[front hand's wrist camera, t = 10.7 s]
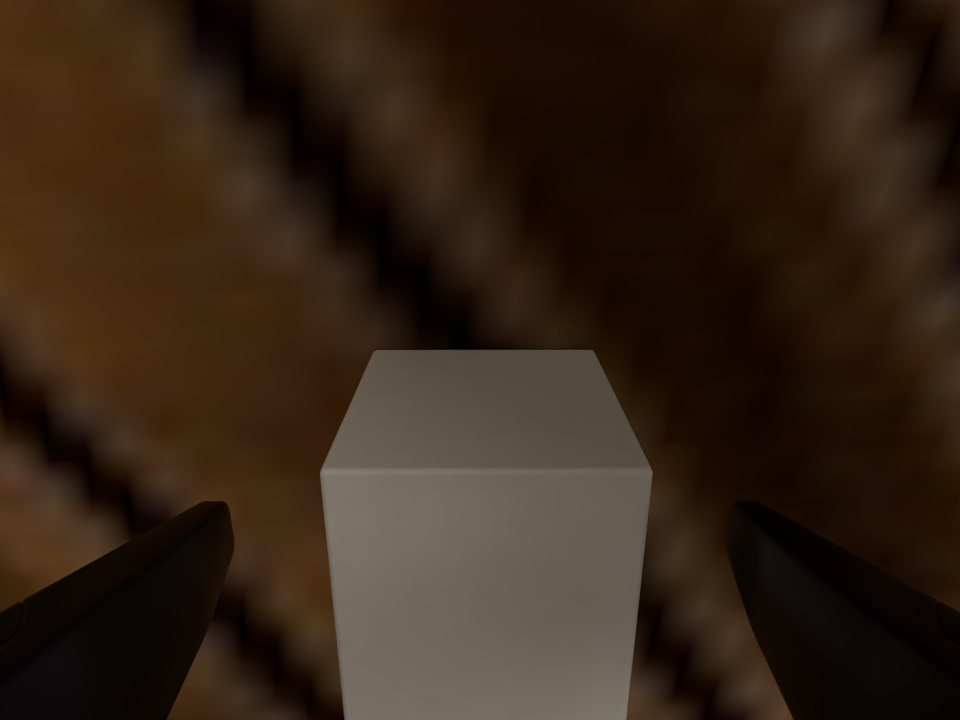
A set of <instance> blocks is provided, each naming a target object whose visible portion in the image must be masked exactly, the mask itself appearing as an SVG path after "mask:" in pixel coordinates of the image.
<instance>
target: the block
mask: <svg viewBox="0 0 960 720" xmlns="http://www.w3.org/2000/svg"><path fill="white" fill-rule="evenodd" d="M652 476H653V472H652V469H651V467H650V465H649V463H648V461H647V459H646V457H645V455H644V453H643V451H642V449H641V447H640V444H639V442H638V440H637V438H636V436H635V434H634V432H633V430H632V428H631V426H630V424H629V422H628V420H627V418H626V416H625V414H624V412H623V410H622V408H621V406H620V404H619V402H618V400H617V398H616V396H615V393H614V391H613V389H612V387H611V385H610V383H609V381H608V379H607V377H606V375H605V373H604V371H603V369H602V367H601V365H600V363H599V361H598V359H597V357H596V355H595V353H594V351H592V350H376V351H374V352H373V354H372V356H371V359H370V361H369V363H368V365H367V367H366V370H365V372H364V374H363V376H362V379H361V381H360V383H359V385H358V388H357V390H356V392H355V394H354V397H353V399H352V401H351V403H350V406H349V408H348V410H347V412H346V415H345V417H344V419H343V421H342V424H341V426H340V428H339V430H338V433H337V435H336V437H335V439H334V442H333V444H332V446H331V448H330V451H329V453H328V455H327V457H326V460H325V462H324V464H323V466H322V469H321V471H320V481H321V491H322V501H323V511H324V521H325V531H326V541H327V550H328V560H329V570H330V580H331V590H332V600H333V610H334V620H335V630H336V640H337V650H338V660H339V670H340V680H341V690H342V700H343V710H344V720H626V718H627V709H628V699H629V690H630V681H631V671H632V662H633V653H634V643H635V634H636V625H637V615H638V606H639V597H640V588H641V578H642V569H643V560H644V550H645V541H646V532H647V522H648V513H649V504H650V494H651V485H652Z"/></svg>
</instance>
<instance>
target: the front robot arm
mask: <svg viewBox="0 0 960 720" xmlns="http://www.w3.org/2000/svg"><path fill="white" fill-rule="evenodd" d="M233 551H234V536H233V530H232V523H231V517H230V511H229V507H228V505H227V504H226V503H225V502H223V501H204V502H201V503H199V504H197V505H195V506H193V507H191V508H190V509H188V510H186V511H184V512H182V513H181V514H179V515H177V516H175V517H173V518H171V519H170V520H168V521H166V522H164V523H162V524H160V525H159V526H157V527H155V528H153V529H151V530H150V531H148V532H146V533H144V534H142V535H140V536H139V537H137V538H135V539H133V540H131V541H130V542H128V543H126V544H124V545H122V546H120V547H119V548H117V549H115V550H113V551H111V552H110V553H108V554H106V555H104V556H102V557H100V558H99V559H97V560H95V561H93V562H91V563H89V564H88V565H86V566H84V567H82V568H80V569H79V570H77V571H75V572H73V573H71V574H69V575H68V576H66V577H64V578H62V579H60V580H59V581H57V582H55V583H53V584H51V585H49V586H48V587H46V588H44V589H42V590H40V591H38V592H37V593H35V594H33V595H31V596H29V597H28V598H26V599H24V600H23V603H22V602H18V603H16V604H15V605H13V606H11V607H9V608H7V609H6V610H4V611H2V612H0V720H166V719H167V717H168V715H169V713H170V711H171V708H172V706H173V704H174V702H175V700H176V698H177V695H178V693H179V691H180V689H181V687H182V685H183V683H184V680H185V678H186V676H187V674H188V672H189V670H190V667H191V665H192V663H193V661H194V659H195V657H196V654H197V652H198V650H199V648H200V646H201V644H202V641H203V639H204V637H205V634H206V632H207V630H208V627H209V624H210V622H211V619H212V616H213V613H214V610H215V607H216V604H217V601H218V598H219V595H220V592H221V589H222V586H223V583H224V580H225V577H226V574H227V571H228V568H229V565H230V562H231V559H232V555H233ZM726 551H727V555H728V559H729V562H730V565H731V568H732V571H733V574H734V577H735V580H736V583H737V586H738V589H739V592H740V595H741V598H742V601H743V604H744V607H745V610H746V613H747V616H748V619H749V622H750V624H751V627H752V630H753V632H754V634H755V637H756V639H757V641H758V644H759V646H760V648H761V650H762V652H763V654H764V657H765V659H766V661H767V663H768V665H769V667H770V670H771V672H772V674H773V676H774V678H775V680H776V683H777V685H778V687H779V689H780V691H781V693H782V695H783V698H784V700H785V702H786V704H787V706H788V708H789V711H790V713H791V715H792V717H793V719H794V720H960V612H958V611H956V610H954V609H953V608H951V607H949V606H947V605H945V604H944V603H942V602H938V603H937V600H936V599H934V598H932V597H931V596H929V595H927V594H925V593H923V592H922V591H920V590H918V589H916V588H914V587H912V586H911V585H909V584H907V583H905V582H903V581H901V580H900V579H898V578H896V577H894V576H892V575H891V574H889V573H887V572H885V571H883V570H881V569H880V568H878V567H876V566H874V565H872V564H871V563H869V562H867V561H865V560H863V559H861V558H860V557H858V556H856V555H854V554H852V553H850V552H849V551H847V550H845V549H843V548H841V547H840V546H838V545H836V544H834V543H832V542H830V541H829V540H827V539H825V538H823V537H821V536H820V535H818V534H816V533H814V532H812V531H810V530H809V529H807V528H805V527H803V526H801V525H799V524H798V523H796V522H794V521H792V520H790V519H789V518H787V517H785V516H783V515H781V514H779V513H778V512H776V511H774V510H772V509H770V508H769V507H767V506H765V505H763V504H761V503H759V502H756V501H737V502H735V503H734V504H733V505H732V507H731V511H730V517H729V523H728V530H727V536H726Z"/></svg>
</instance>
